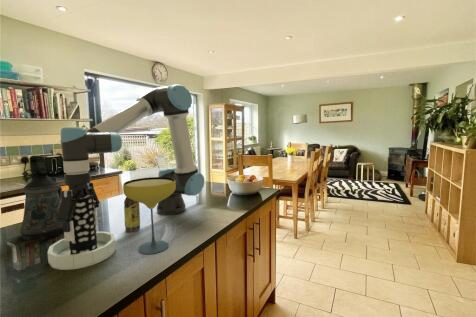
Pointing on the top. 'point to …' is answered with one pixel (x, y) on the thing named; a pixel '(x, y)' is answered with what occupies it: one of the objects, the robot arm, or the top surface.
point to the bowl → (65, 261)
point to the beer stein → (41, 209)
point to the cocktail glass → (150, 203)
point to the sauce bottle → (131, 215)
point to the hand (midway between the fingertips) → (82, 232)
